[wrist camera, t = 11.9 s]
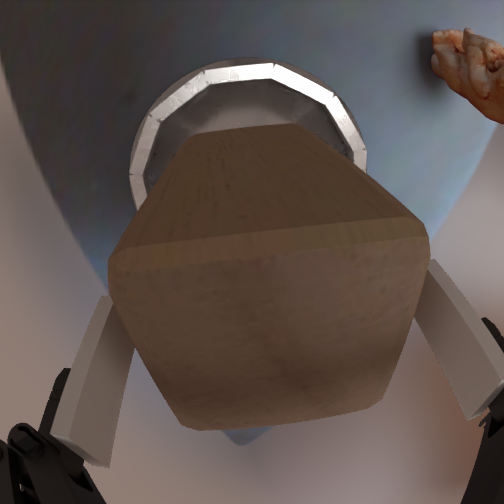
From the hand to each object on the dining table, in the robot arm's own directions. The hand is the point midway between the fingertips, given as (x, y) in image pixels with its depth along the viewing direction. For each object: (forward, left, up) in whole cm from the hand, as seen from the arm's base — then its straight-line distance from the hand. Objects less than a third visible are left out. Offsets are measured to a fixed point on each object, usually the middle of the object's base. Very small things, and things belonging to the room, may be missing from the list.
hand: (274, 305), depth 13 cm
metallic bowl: (0, 0, -18) cm, 18 cm away
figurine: (-11, +19, -18) cm, 28 cm away
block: (0, 0, -17) cm, 17 cm away
